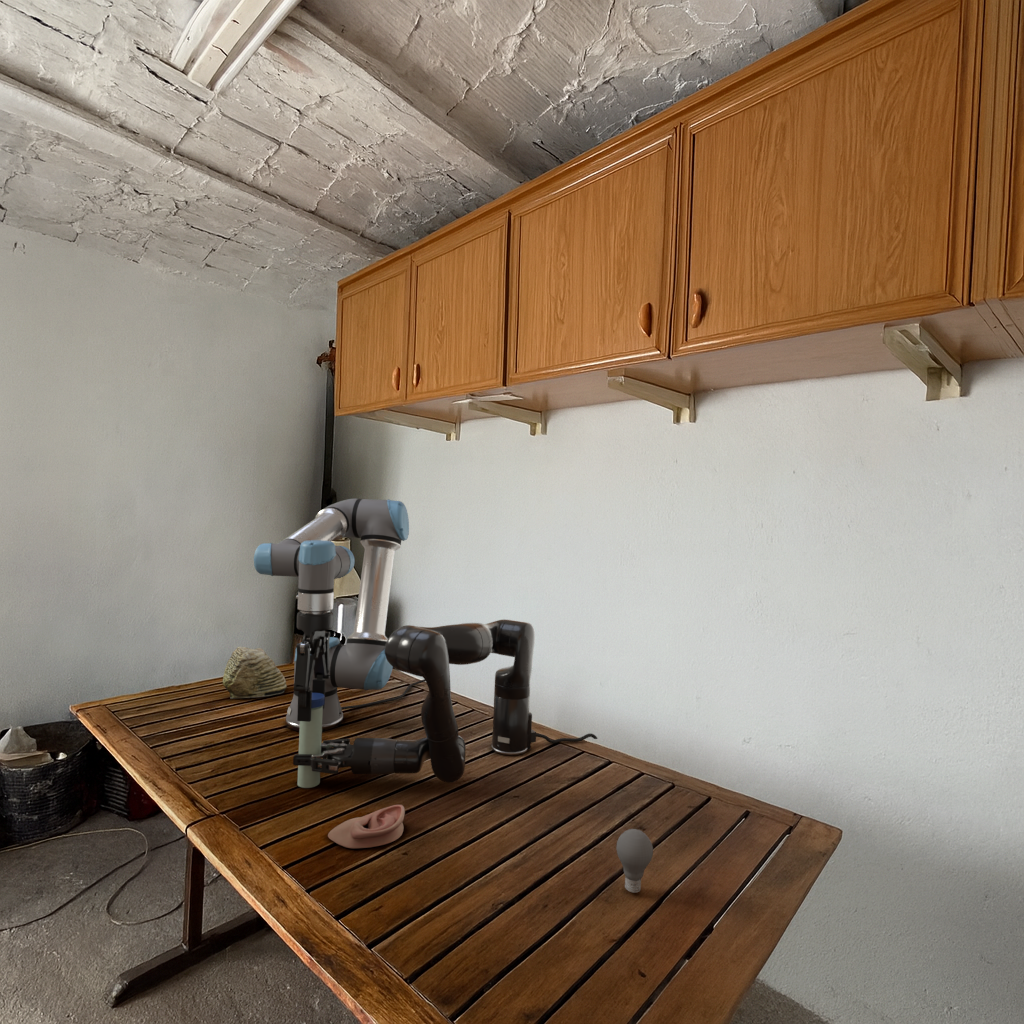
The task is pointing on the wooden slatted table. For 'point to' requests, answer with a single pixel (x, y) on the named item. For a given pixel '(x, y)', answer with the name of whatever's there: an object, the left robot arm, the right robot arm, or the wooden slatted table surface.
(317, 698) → the lid
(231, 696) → the fossil
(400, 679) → the wooden slatted table surface
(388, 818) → the anatomical model
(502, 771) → the wooden slatted table surface
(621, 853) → the light bulb
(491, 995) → the wooden slatted table surface
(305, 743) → the jar
